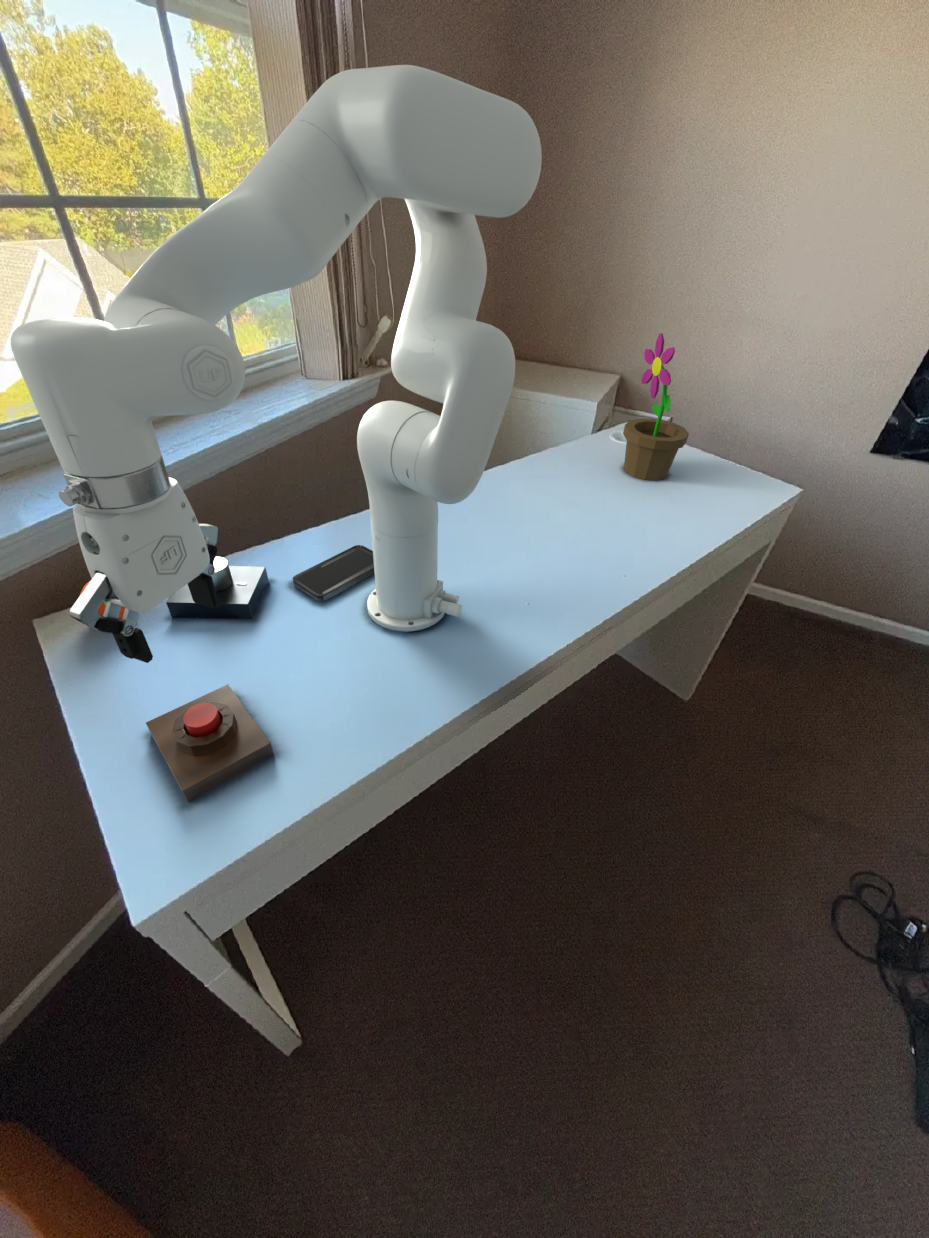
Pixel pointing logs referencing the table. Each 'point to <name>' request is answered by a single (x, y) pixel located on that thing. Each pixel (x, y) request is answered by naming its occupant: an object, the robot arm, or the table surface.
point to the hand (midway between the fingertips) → (175, 629)
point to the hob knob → (221, 574)
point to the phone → (336, 573)
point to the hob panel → (225, 597)
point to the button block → (210, 744)
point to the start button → (202, 720)
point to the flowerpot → (654, 425)
